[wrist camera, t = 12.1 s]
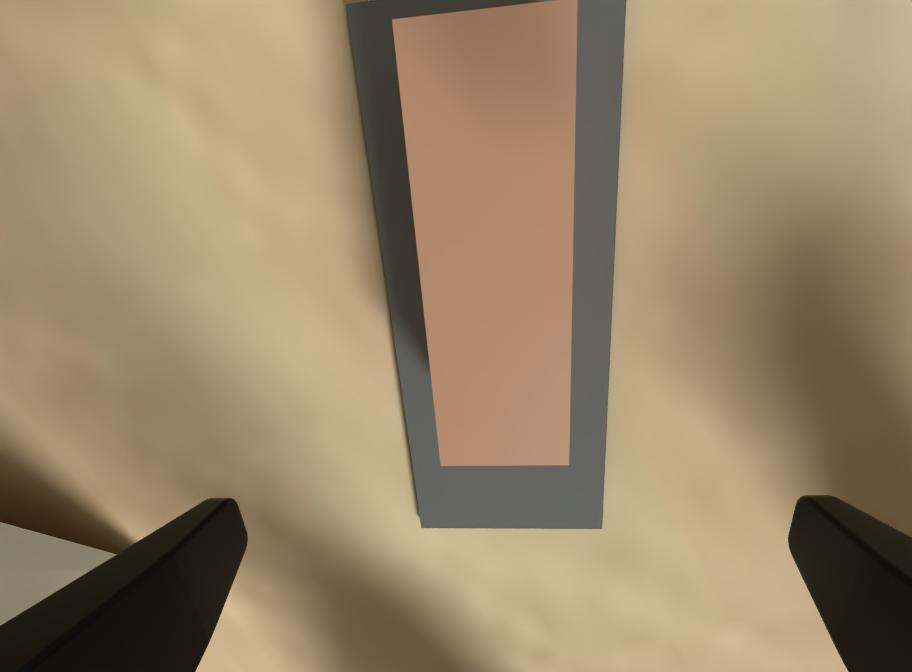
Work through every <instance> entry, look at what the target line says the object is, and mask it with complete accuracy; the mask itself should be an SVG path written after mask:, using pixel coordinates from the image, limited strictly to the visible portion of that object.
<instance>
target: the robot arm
mask: <svg viewBox="0 0 912 672" xmlns="http://www.w3.org/2000/svg"><path fill="white" fill-rule="evenodd" d="M247 541H248V536H247V531H246V528H245V525H244V522H243V519H242V516H241V513H240V510H239V507H238V504H237V502H236V501H235V500H234V499H232V498H210V499H207V500H205V501H203V502H202V503H200V504H199V505H197V506H195V507H194V508H192V509H190V510H189V511H187V512H185V513H184V514H182V515H181V516H179V517H177V518H176V519H174V520H172V521H171V522H169V523H167V524H166V525H164V526H163V527H161V528H159V529H158V530H156V531H154V532H153V533H151V534H149V535H148V536H146V537H144V538H143V539H141V540H140V541H138V542H136V543H135V544H133V545H131V546H130V547H128V548H126V549H125V550H123V551H122V552H120V553H118V554H117V555H115V556H113V557H112V558H110V559H108V560H107V561H105V562H104V563H102V564H100V565H99V566H97V567H95V568H94V569H92V570H90V571H89V572H87V573H86V574H84V575H82V576H81V577H79V578H77V579H76V580H74V581H72V582H71V583H69V584H68V585H66V586H64V587H63V588H61V589H59V590H58V591H56V592H54V593H53V594H51V595H50V596H48V597H46V598H45V599H43V600H41V601H40V602H38V603H36V604H35V605H33V606H32V607H30V608H28V609H27V610H25V611H23V612H22V613H20V614H18V615H17V616H15V617H13V618H12V619H10V620H9V621H7V622H5V623H4V624H2V625H0V672H195V671H196V669H197V667H198V665H199V663H200V661H201V659H202V657H203V654H204V652H205V650H206V648H207V646H208V644H209V642H210V639H211V637H212V635H213V632H214V630H215V627H216V625H217V622H218V620H219V617H220V615H221V612H222V610H223V607H224V604H225V602H226V599H227V597H228V594H229V592H230V589H231V586H232V584H233V581H234V579H235V576H236V574H237V571H238V568H239V566H240V563H241V561H242V558H243V555H244V553H245V550H246V547H247ZM788 543H789V548H790V552H791V554H792V557H793V559H794V561H795V563H796V565H797V567H798V569H799V571H800V573H801V576H802V578H803V580H804V582H805V584H806V586H807V588H808V590H809V592H810V594H811V597H812V599H813V601H814V603H815V605H816V607H817V609H818V611H819V613H820V616H821V618H822V620H823V622H824V624H825V626H826V628H827V630H828V632H829V634H830V637H831V639H832V641H833V643H834V645H835V647H836V649H837V651H838V653H839V655H840V657H841V659H842V661H843V663H844V664H845V666H846V668H847V670H848V672H912V538H911V537H910V536H908V535H906V534H904V533H902V532H900V531H898V530H896V529H895V528H893V527H891V526H889V525H887V524H885V523H883V522H881V521H880V520H878V519H876V518H874V517H872V516H870V515H868V514H866V513H865V512H863V511H861V510H859V509H857V508H855V507H853V506H851V505H850V504H848V503H846V502H844V501H842V500H840V499H838V498H836V497H834V496H829V495H805V496H802V497H800V498H799V499H798V500H797V503H796V507H795V511H794V515H793V519H792V523H791V527H790V531H789V536H788Z"/></svg>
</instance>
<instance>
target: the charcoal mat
mask: <svg viewBox="0 0 912 672" xmlns="http://www.w3.org/2000/svg"><path fill="white" fill-rule="evenodd" d="M545 1H553V0H377V1H370V2H362V3H354V4H347V5H346V8H347V15H348V22H349V29H350V36H351V43H352V50H353V57H354V64H355V71H356V78H357V85H358V91H359V98H360V105H361V112H362V119H363V126H364V133H365V140H366V147H367V154H368V161H369V168H370V175H371V182H372V188H373V195H374V202H375V209H376V216H377V223H378V230H379V237H380V244H381V251H382V258H383V265H384V272H385V279H386V285H387V292H388V299H389V306H390V313H391V320H392V327H393V334H394V341H395V348H396V355H397V362H398V369H399V376H400V382H401V389H402V396H403V403H404V410H405V417H406V424H407V431H408V438H409V445H410V452H411V459H412V466H413V473H414V479H415V486H416V493H417V500H418V507H419V514H420V521H421V528H541V529H602V518H603V496H604V474H605V452H606V430H607V408H608V386H609V365H610V343H611V321H612V299H613V277H614V255H615V233H616V211H617V189H618V167H619V145H620V124H621V102H622V80H623V58H624V36H625V14H626V0H578V8H577V63H576V118H575V173H574V228H573V284H572V339H571V394H570V449H569V465H527V466H441V464H440V455H439V446H438V437H437V428H436V419H435V409H434V400H433V391H432V382H431V373H430V364H429V354H428V345H427V336H426V327H425V318H424V309H423V299H422V290H421V281H420V272H419V263H418V254H417V244H416V235H415V226H414V217H413V208H412V199H411V189H410V180H409V171H408V162H407V153H406V143H405V134H404V125H403V116H402V107H401V98H400V88H399V79H398V70H397V61H396V52H395V43H394V33H393V24H392V19H400V18H409V17H417V16H426V15H434V14H443V13H451V12H460V11H468V10H477V9H485V8H494V7H502V6H511V5H519V4H528V3H536V2H545Z"/></svg>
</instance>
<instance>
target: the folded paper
mask: <svg viewBox="0 0 912 672" xmlns="http://www.w3.org/2000/svg"><path fill="white" fill-rule="evenodd" d="M115 555H117V554H113V553H110V552H106V551H103V550H99V549H95V548H92V547H88V546H85V545H81V544H77V543H74V542H70V541H67V540H63V539H59V538H56V537H52V536H49V535H45V534H41V533H38V532H34V531H31V530H27V529H23V528H20V527H16V526H13V525H9V524H5V523H2V522H0V625H2V624H4V623H5V622H7V621H9V620H10V619H12V618H13V617H15V616H17V615H18V614H20V613H22V612H23V611H25V610H27V609H28V608H30V607H32V606H33V605H35V604H36V603H38V602H40V601H41V600H43V599H45V598H46V597H48V596H50V595H51V594H53V593H54V592H56V591H58V590H59V589H61V588H63V587H64V586H66V585H68V584H69V583H71V582H72V581H74V580H76V579H77V578H79V577H81V576H82V575H84V574H86V573H87V572H89V571H90V570H92V569H94V568H95V567H97V566H99V565H100V564H102V563H104V562H105V561H107V560H108V559H110V558H112V557H113V556H115Z"/></svg>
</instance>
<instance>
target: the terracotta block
mask: <svg viewBox="0 0 912 672" xmlns="http://www.w3.org/2000/svg"><path fill="white" fill-rule="evenodd" d="M577 8H578V0H553V1H545V2H536V3H528V4H519V5H511V6H502V7H494V8H485V9H477V10H468V11H460V12H451V13H443V14H434V15H426V16H417V17H409V18H400V19H392V24H393V33H394V43H395V52H396V61H397V70H398V79H399V88H400V98H401V107H402V116H403V125H404V134H405V143H406V153H407V162H408V171H409V180H410V189H411V199H412V208H413V217H414V226H415V235H416V244H417V254H418V263H419V272H420V281H421V290H422V299H423V309H424V318H425V327H426V336H427V345H428V354H429V364H430V373H431V382H432V391H433V400H434V409H435V419H436V428H437V437H438V446H439V455H440V464H441V466H527V465H569V449H570V394H571V339H572V284H573V228H574V173H575V118H576V63H577Z"/></svg>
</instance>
